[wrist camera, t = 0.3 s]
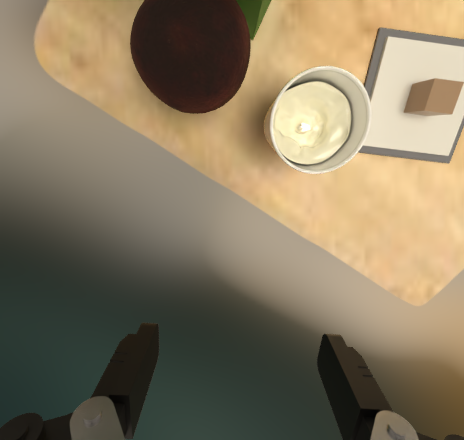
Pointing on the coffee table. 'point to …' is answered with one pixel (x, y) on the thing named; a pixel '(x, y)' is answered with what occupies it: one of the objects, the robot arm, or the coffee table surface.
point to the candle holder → (319, 120)
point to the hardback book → (253, 13)
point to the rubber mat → (370, 81)
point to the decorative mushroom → (191, 51)
